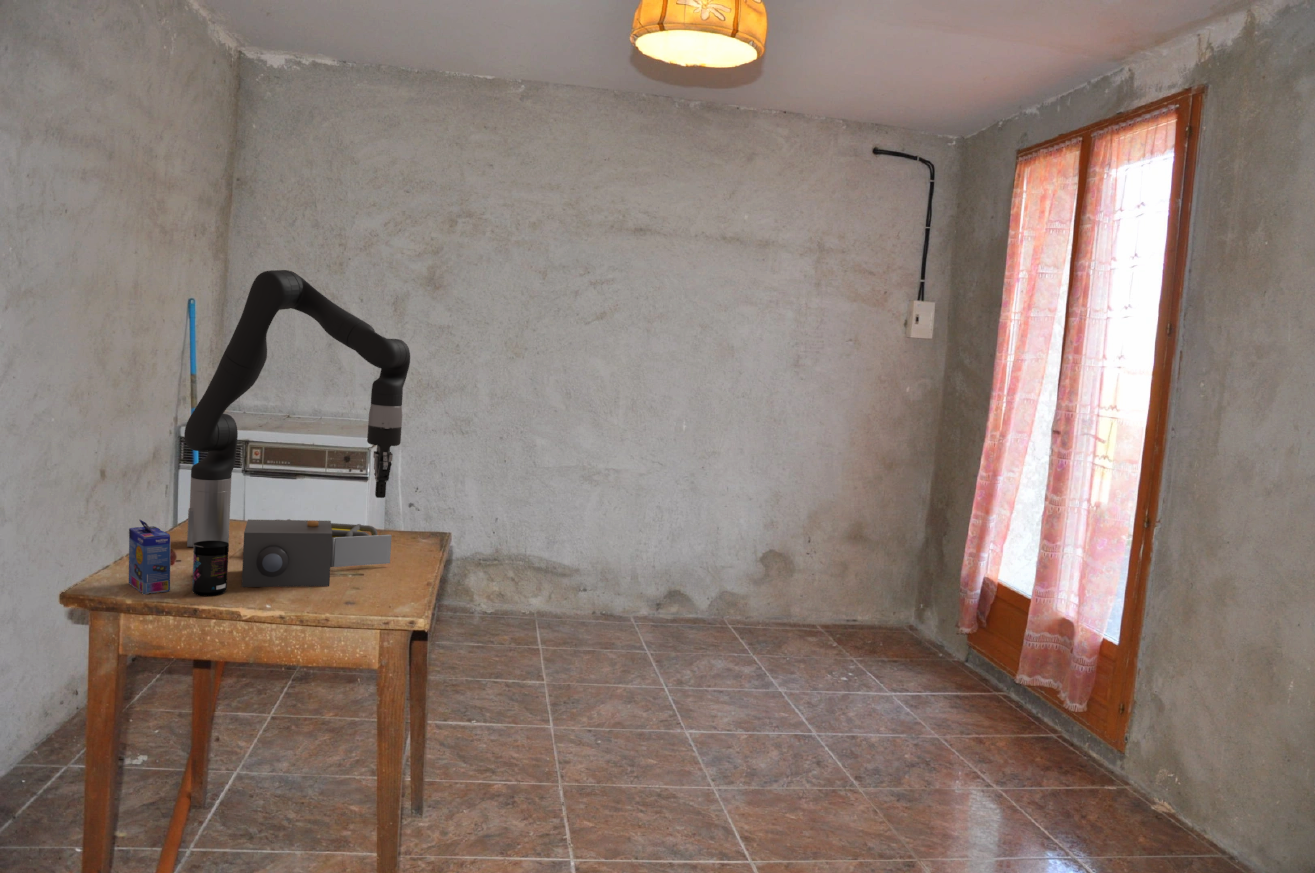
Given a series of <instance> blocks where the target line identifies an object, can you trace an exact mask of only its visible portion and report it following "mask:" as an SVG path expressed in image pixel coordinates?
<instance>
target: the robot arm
mask: <svg viewBox="0 0 1315 873" xmlns="http://www.w3.org/2000/svg"><path fill="white" fill-rule="evenodd" d="M247 295H248V296H247V298H246V302H245V304H244V308H243V311H242V313H241V315H240V318H239V320H238V323H237V325H236V327H235V330H234V331H233V334H232V337H231V338H230V341H229V343H228V345H227V346H226V348H225V350H224V352H223V355H222V357H221V359H219V360H220V361H219V363H218V365H217V368H216V370H215V372H214V374H213V376H212V378H211V380H210V382H209V383H208V386H207V388H206V390H205V391H204V394H203V395H202V397H201V399H200V400H199V401H198V403H197V405H196V406H195V408H194V410H193V411H192V413H191V415H190V416H189V418H188V420H187V422H186V424H185V426H184V427H185V428H184V436H183V437H184V442H185V444H186V446H187V447H188V448H189V449H190V450H192V451H194V452H195V451H196V452H208V453H207V455H206V456H205V457H204V458H203V459H201V461H199V462H197V463H195V464H193V465H192V466H191V469H190V490H189V491H190V492H189V494H190V495H189V508H188V510H187V511H188V512H187V514H188V515H187V537H186V547H187V548H189V547H191V548H194V543H196V542H200V541H224V542H227V543H229V544H230V542H229V541H230V540H229V539H230V520H231V519H230V517H231V498H232V497H231V496H232V492H231V491H232V475H233V473H232V472H233V470H234V468H235V466H236V458H237V457H236V455H237V448H238V446H237V445H238V439H239V438H238V434H239V432H238V426H237V423H236V420H235V419H234V418H233V417H232V415H230V414H227V413H225V411H226V410H228V408H229V407H230V406H231V405H232V404H233V403H235V402H236V401H237V400H238V399H239V398H240V397H242V396H243V395H244V394H245V393H246V392H248V391H249V390H250V389H251V388H252V387H253V386H254V385H255V384H256V382H257V380H258V379H259V377H260V374H261V373H262V370H263V369H264V366H265V364H266V361H267V357H268V343H267V336H268V331H269V328H270V326H271V324H272V322H273V320H274V318H275V316H276V315H277V313H279V311H280V310H281V311H283V310H290V309H292V310H296V311H297V312H301V313H303V314H305V315H307V316H309V317H310V318H312V319H313V320H315V322H317V323H318V324H319V325H320V327H321V328H322V329H323V330H324V332H326V333H327V334H328V335H329V336H330V337H331V338H333V339H335V340H336V341H337V342H339V343H341V344H342V345H345V347H347V348H349V349H351V350H353V351H355V352H356V353H357V354H358V355H359V356H360V357H361V358H363V359H364V361H367V363H368V364H370V365H372V366H374V367H375V368H378V369H380V373H379V377H378V378H377V379H375V380H374V381H373V382H372V385H371V394H370V405H369V406H370V407H369V411H368V420H367V421H368V423H367V424H368V425H367V438H366V439H367V440H366V442H367V443H368V444H369V445H373V446H376V450H374V451H373V456H372V457H373V459H374V460H373V471H374V473H373V474H374V479H375V491H374V492H375V493H374V495H375V497H376V498H378V499H379V498H381V499H383V498H386V494H387V493H386V492H387V483H388V482H389V479H390V473H391V466H392V464H393V463H392V461H393V456H394V455H393V452H392V451H391V447H397V446H400V445H401V441H402V440H401V439H402V426H403V424H402V423H403V395H404V394H403V393H404V391H403V390H404V385H405V383H406V381H407V380H406V379H407V376H408V372H409V368H410V363H411V352H410V348H409V346H408V344H407V343H406V342H405V341H404V340H401V339H398V338H388V337H384V336H382V335H381V334H379V333H377V332H376V330H375V329H374V327H373V326H372V325H371V324H369V323H367V322H366V321H364V320H363V319H361V318H360V317H358V316H356V315H354V314H353V313H351V312H348V311H347V310H345V309H344V308H342V307H341V306H339V305H337V304H336V303H334V302H333V301H332V300H331V299H329V298H327V297H326V296H325V295H324V294H322V293H321V292H320V291H319V290H317V289H316V288H315V287H314V286H312V285H311V284H310V283H309V282H308V281H307V280H305V279H304V278H303V277H301V276H300V275H299V274H298V273H296V272H294V271H292V270H288V269H279V270H276V269H275V270H274V269H271V270H265V271H262V272H260V273H259V274H258V275H256V277H255V278H254V280H253V282H252V284H251V287H250V289H249V291H248V294H247Z"/></svg>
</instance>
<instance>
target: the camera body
mask: <svg viewBox="0 0 1315 873" xmlns="http://www.w3.org/2000/svg"><path fill="white" fill-rule="evenodd" d="M331 523H332V521H331V520H313V519H312V520H308V519H307V520H306V519H304V520H301V519H300V520H299V519H297V520H296V519H290V520H288V519H247V521H246V525H245V527H244V531H243V549H242V550H243V552H242V570H241V572H242V573H241V587H242V588H259V587H260V588H261V587H262V588H263V587H264V588H266V587H267V588H269V587H272V588H273V587H274V588H275V587H277V588H279V587H280V588H282V587H283V588H286V587H330V583H331V582H330V580H331V579H330V578H331V567H330V565H331V547H332V528H331Z"/></svg>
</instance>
